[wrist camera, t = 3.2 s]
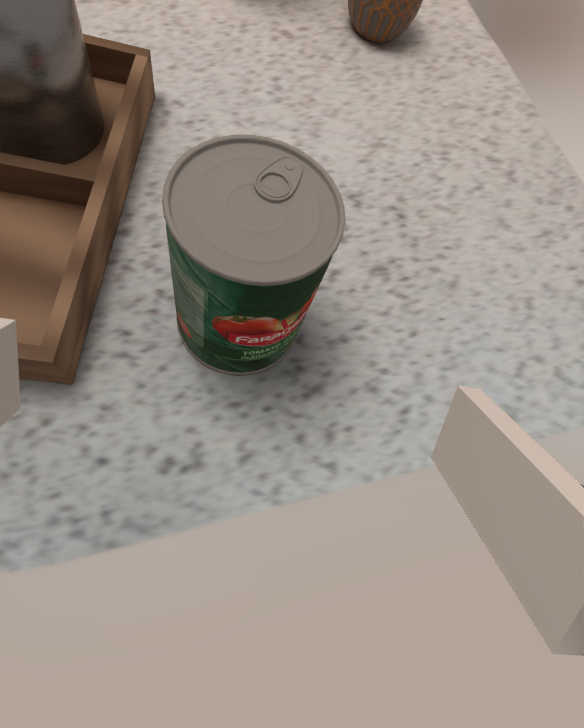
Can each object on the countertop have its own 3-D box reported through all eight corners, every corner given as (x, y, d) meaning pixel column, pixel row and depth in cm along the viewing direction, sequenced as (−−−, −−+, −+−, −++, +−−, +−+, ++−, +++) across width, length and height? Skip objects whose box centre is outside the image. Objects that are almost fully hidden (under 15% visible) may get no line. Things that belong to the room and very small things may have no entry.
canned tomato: (257, 398, 27) (290, 318, 17) (151, 333, 27) (119, 214, 17) (317, 307, 30) (374, 192, 20) (221, 248, 30) (230, 107, 20)
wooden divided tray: (71, 384, 25) (52, 362, 22) (-175, 353, 23) (-236, 324, 20) (154, 95, 34) (149, 49, 31) (-18, 56, 32) (-42, 4, 29)
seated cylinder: (-7, 178, 28) (-127, -23, 18) (-35, 90, 30) (-158, -136, 20) (119, 155, 30) (77, -33, 20) (85, 75, 32) (31, -132, 22)
